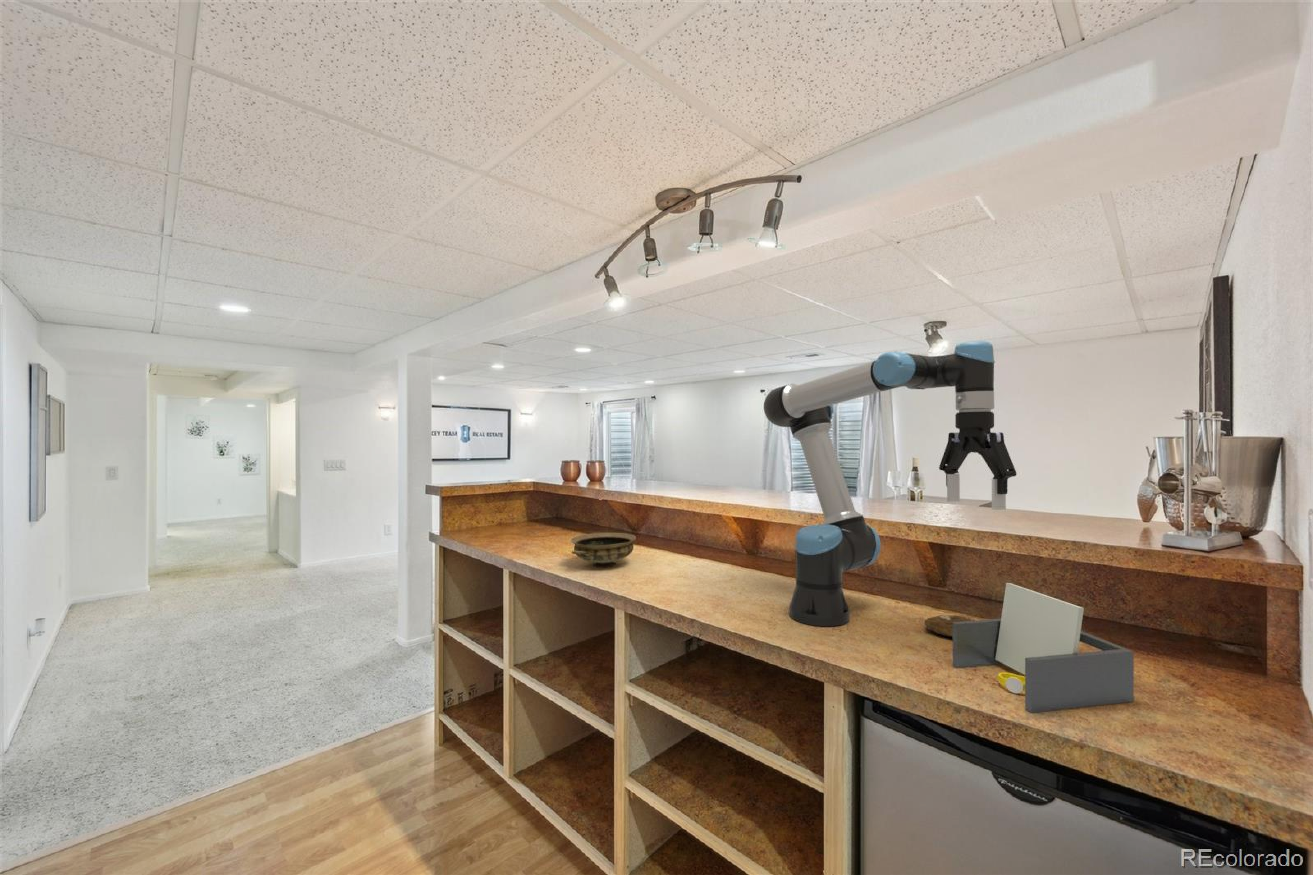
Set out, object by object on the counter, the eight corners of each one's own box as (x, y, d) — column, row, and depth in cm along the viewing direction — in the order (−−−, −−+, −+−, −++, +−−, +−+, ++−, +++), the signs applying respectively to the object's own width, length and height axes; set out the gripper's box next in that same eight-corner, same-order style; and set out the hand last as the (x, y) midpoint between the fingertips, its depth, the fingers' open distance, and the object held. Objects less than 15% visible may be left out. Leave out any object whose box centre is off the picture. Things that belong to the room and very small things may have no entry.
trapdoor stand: (952, 665, 111) (952, 622, 111) (1040, 657, 114) (1040, 615, 114) (1031, 712, 92) (1031, 660, 92) (1133, 701, 95) (1133, 651, 95)
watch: (1001, 681, 105) (994, 688, 101) (1001, 666, 105) (994, 672, 101) (1038, 691, 101) (1032, 698, 97) (1038, 676, 101) (1032, 682, 97)
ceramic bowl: (609, 553, 217) (608, 528, 217) (654, 561, 202) (654, 535, 202) (551, 568, 194) (550, 540, 194) (597, 579, 179) (597, 549, 179)
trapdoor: (999, 659, 111) (995, 659, 111) (1010, 583, 111) (1006, 582, 111) (1071, 697, 95) (1066, 697, 95) (1083, 608, 95) (1079, 607, 95)
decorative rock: (1002, 638, 126) (933, 625, 137) (1001, 620, 127) (933, 609, 137) (992, 650, 118) (919, 636, 128) (991, 631, 118) (919, 618, 128)
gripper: (923, 413, 132) (923, 498, 132) (1004, 408, 108) (1004, 513, 108) (950, 413, 134) (950, 497, 134) (1036, 408, 109) (1037, 512, 109)
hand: (974, 505), depth 121 cm, fingers open, 13 cm apart
